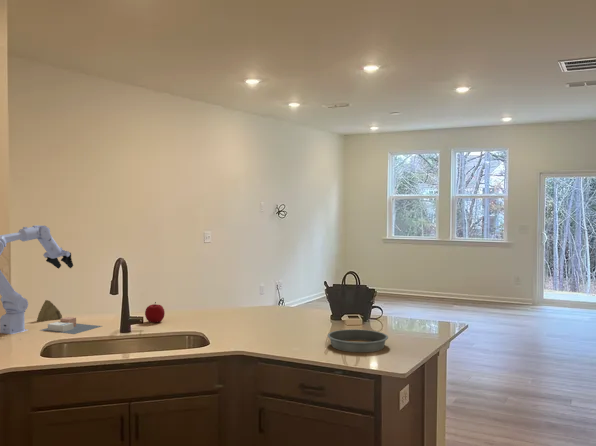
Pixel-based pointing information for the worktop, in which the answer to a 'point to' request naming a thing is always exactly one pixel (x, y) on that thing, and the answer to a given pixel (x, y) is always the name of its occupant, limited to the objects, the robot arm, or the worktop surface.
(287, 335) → the worktop surface
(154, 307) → the apple
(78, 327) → the mat
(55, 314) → the rock
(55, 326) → the white flat block
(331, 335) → the cake pan
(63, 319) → the stub
